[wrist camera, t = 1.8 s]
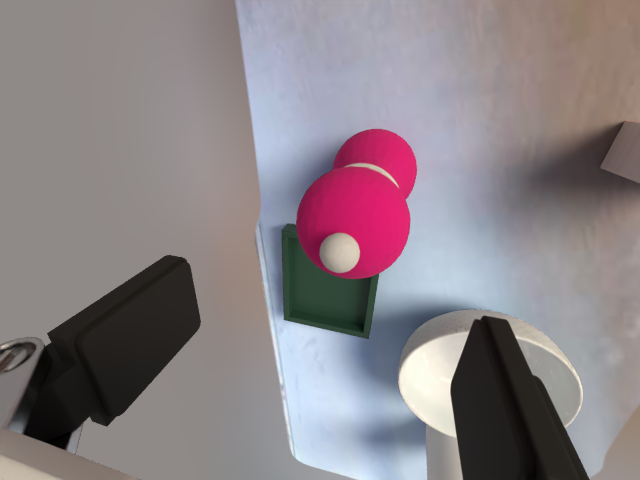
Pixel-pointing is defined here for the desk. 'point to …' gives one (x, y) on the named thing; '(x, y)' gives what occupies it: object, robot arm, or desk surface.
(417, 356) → the cereal bowl
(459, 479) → the pill bottle
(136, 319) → the robot arm
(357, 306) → the tray
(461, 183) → the desk surface
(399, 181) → the pepper mill
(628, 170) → the printed tea carton
